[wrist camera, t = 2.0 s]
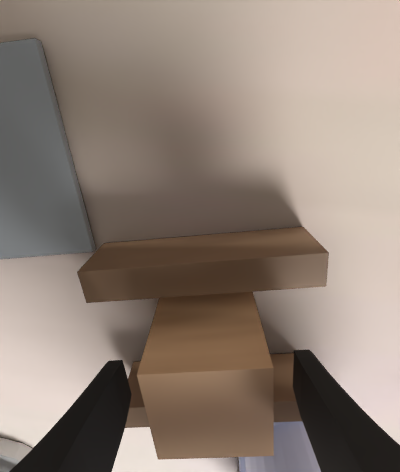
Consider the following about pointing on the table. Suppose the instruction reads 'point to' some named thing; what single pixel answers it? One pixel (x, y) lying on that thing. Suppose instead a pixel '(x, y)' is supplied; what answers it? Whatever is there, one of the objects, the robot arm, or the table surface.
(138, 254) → the shelf slot
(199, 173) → the table surface
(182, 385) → the oak block
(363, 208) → the table surface
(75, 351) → the table surface
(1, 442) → the vase
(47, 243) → the slate mat
